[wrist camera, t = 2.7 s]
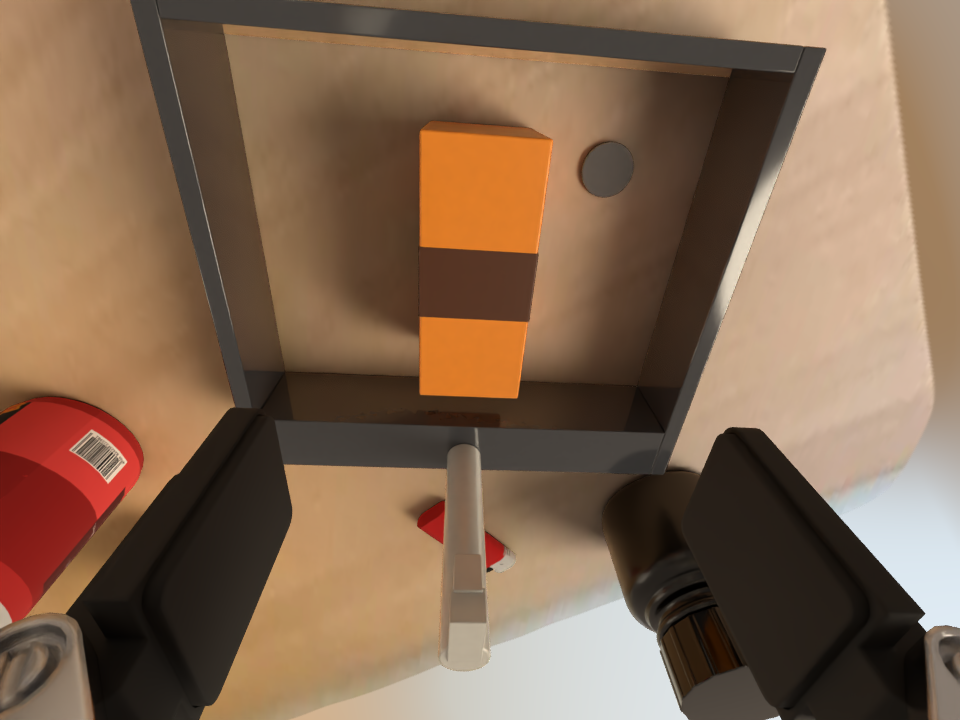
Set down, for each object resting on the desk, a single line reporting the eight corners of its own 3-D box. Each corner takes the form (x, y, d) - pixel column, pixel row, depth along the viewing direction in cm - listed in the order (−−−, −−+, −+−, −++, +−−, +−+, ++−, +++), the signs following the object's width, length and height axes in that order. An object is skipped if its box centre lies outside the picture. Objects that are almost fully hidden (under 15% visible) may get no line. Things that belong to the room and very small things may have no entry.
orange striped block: (428, 120, 20) (418, 128, 15) (533, 128, 20) (554, 139, 15) (426, 340, 25) (418, 395, 21) (508, 343, 26) (518, 399, 21)
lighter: (445, 511, 31) (518, 564, 34) (446, 497, 32) (516, 550, 35) (416, 530, 32) (489, 580, 35) (418, 516, 33) (488, 565, 36)
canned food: (8, 372, 26) (-258, 537, 16) (158, 423, 28) (1, 594, 18) (5, 461, 29) (-216, 641, 19) (139, 500, 31) (-1, 678, 22)
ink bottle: (615, 563, 36) (675, 748, 26) (577, 496, 32) (630, 686, 22) (736, 523, 34) (853, 707, 24) (711, 447, 30) (840, 630, 20)
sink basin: (199, 7, 18) (-464, -207, 5) (753, 56, 19) (1322, -12, 6) (279, 411, 28) (126, 678, 15) (637, 424, 29) (769, 676, 17)
